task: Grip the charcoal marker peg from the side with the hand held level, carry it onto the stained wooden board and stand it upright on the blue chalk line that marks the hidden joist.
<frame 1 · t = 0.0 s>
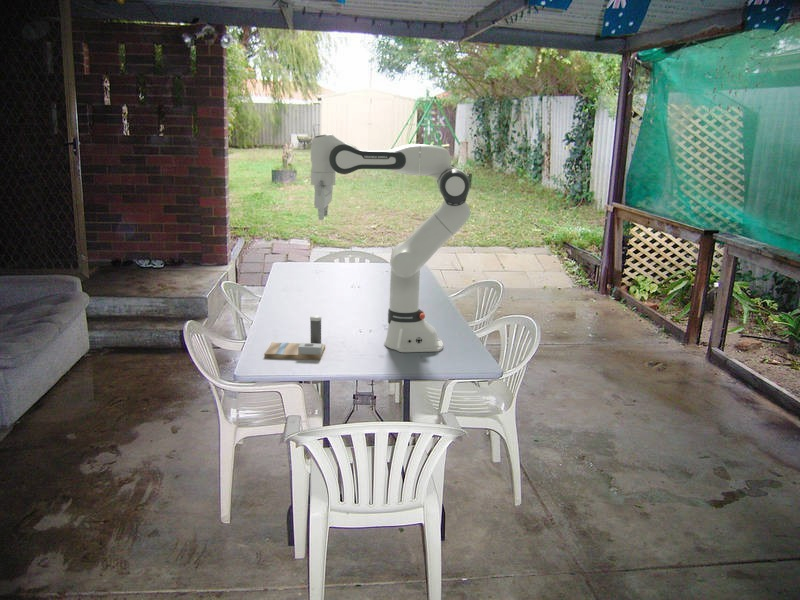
hand: (323, 218, 251), 48 cm above the table, tool pointing down, fingers open, 8 cm apart
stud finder: (310, 352, 246), resting on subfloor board
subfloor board: (295, 352, 250), on the table
marker peg: (315, 344, 259), on the table
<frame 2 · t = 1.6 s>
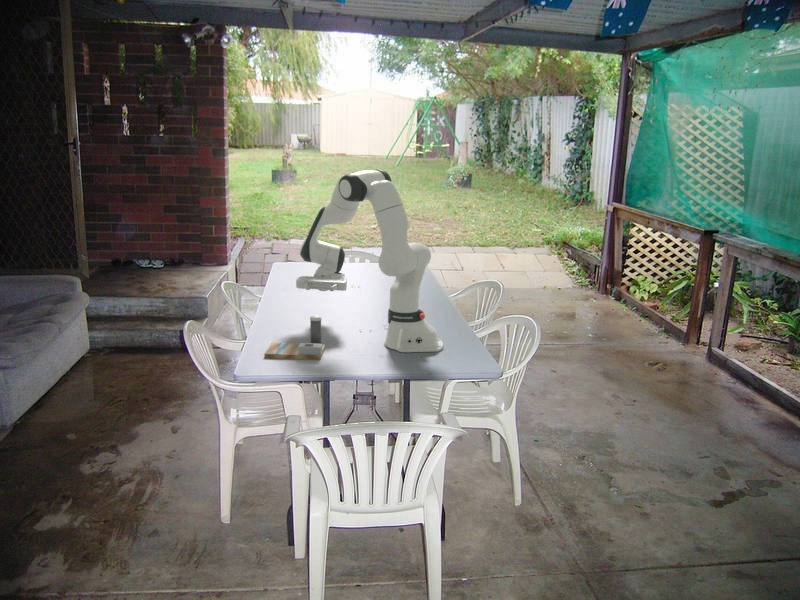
hand: (319, 288, 267), 19 cm above the table, tool horizontal, fingers open, 8 cm apart
nothing on the table moved.
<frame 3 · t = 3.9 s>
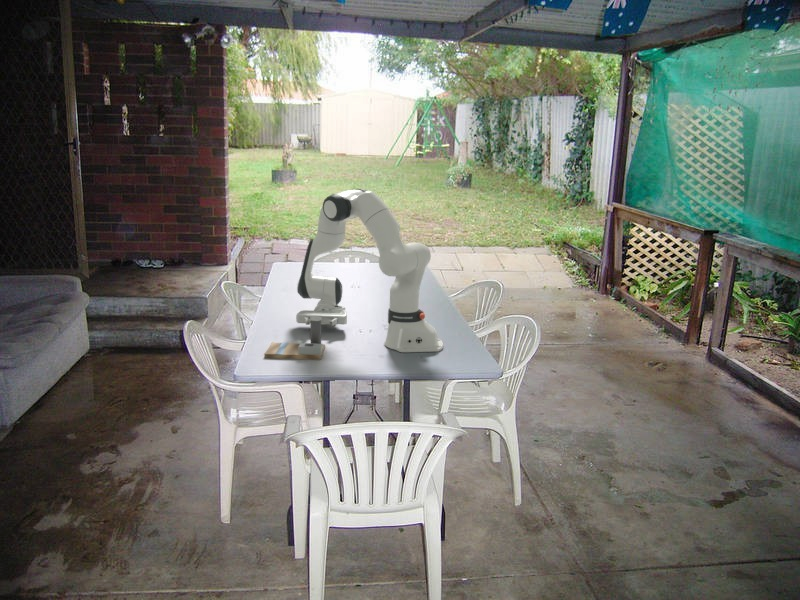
hand: (319, 323, 266), 6 cm above the table, tool horizontal, fingers open, 8 cm apart
nothing on the table moved.
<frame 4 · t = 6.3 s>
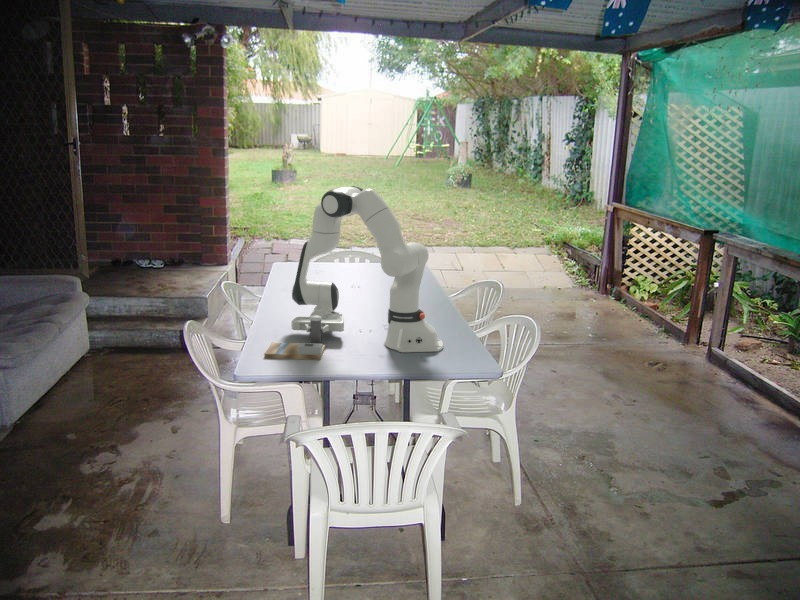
hand: (315, 330, 257), 6 cm above the table, tool horizontal, fingers closed on marker peg, 4 cm apart
marker peg: (315, 344, 259), on the table, touching gripper
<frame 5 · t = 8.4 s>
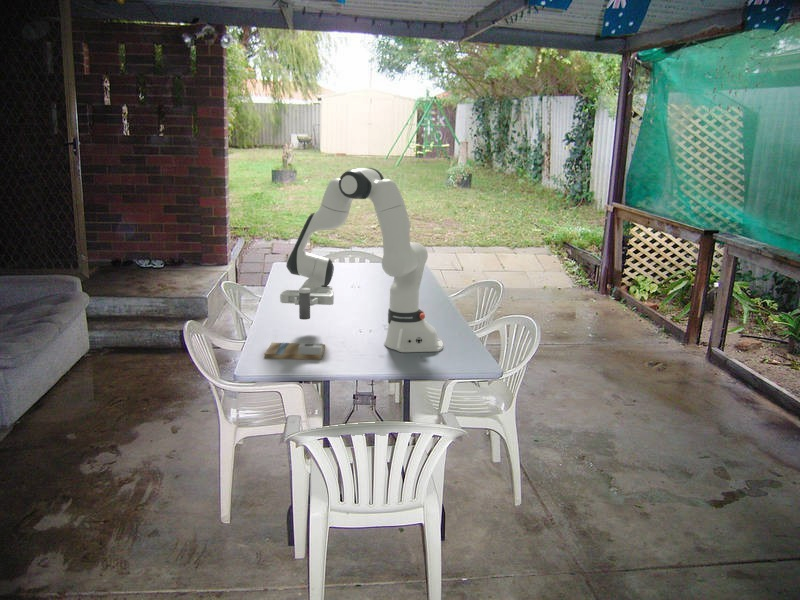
hand: (304, 303, 252), 17 cm above the table, tool horizontal, fingers closed on marker peg, 4 cm apart
marker peg: (304, 317, 254), point 11 cm above the table, touching gripper
when the fingers open (9 cm above the table, at t = 10.8 s): marker peg drops 1 cm, resting on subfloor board.
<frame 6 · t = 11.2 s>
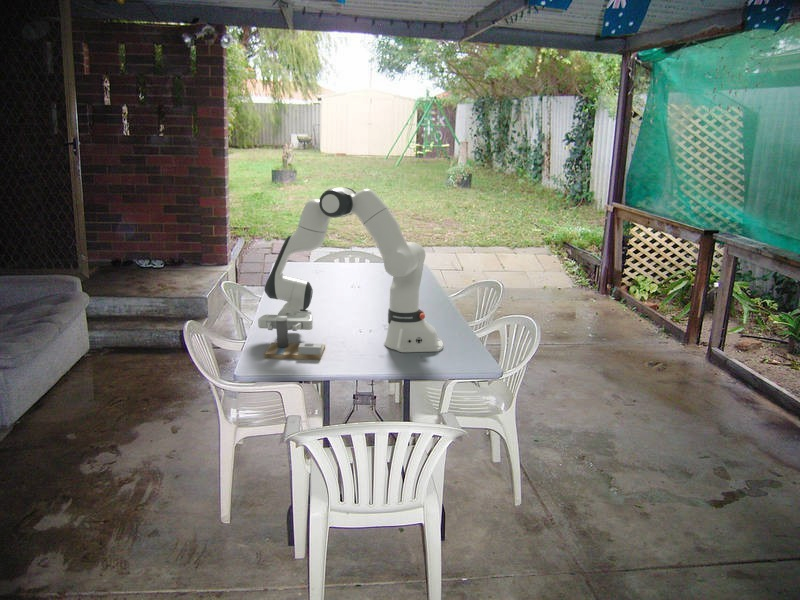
hand: (282, 328, 249), 9 cm above the table, tool horizontal, fingers open, 8 cm apart
marker peg: (283, 346, 251), point 2 cm above the table, touching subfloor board
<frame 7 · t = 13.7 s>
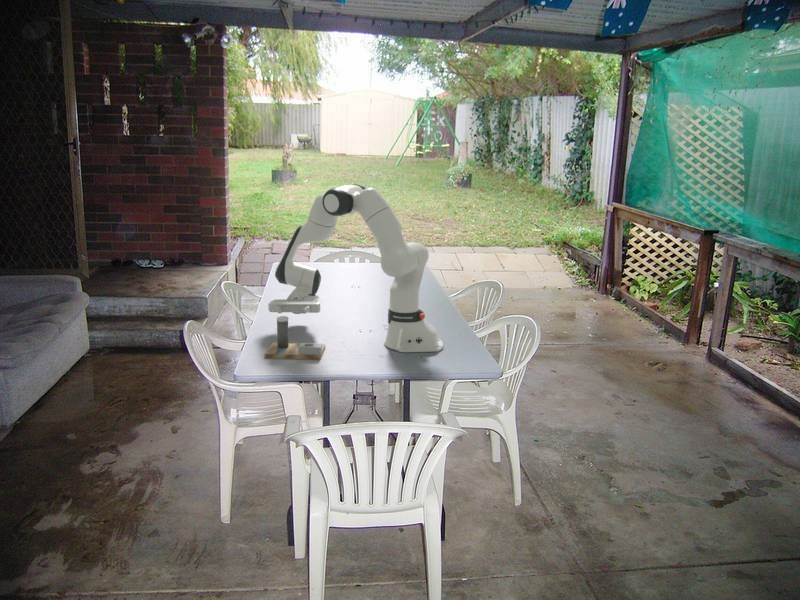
hand: (291, 311, 261), 12 cm above the table, tool horizontal, fingers open, 8 cm apart
nothing on the table moved.
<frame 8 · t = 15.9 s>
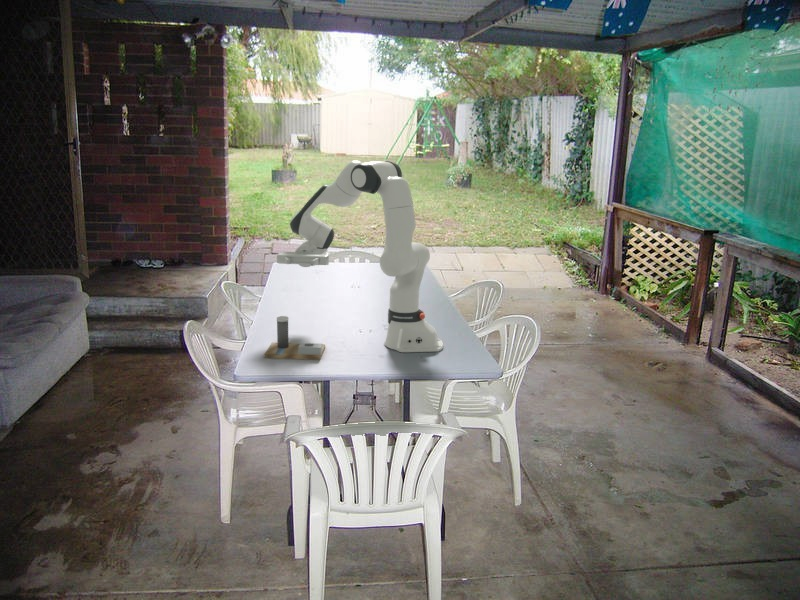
hand: (300, 262, 260), 30 cm above the table, tool horizontal, fingers open, 8 cm apart
nothing on the table moved.
at the end: marker peg inside the target area on the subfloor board (1.0 cm from its centre), point 1.6 cm above the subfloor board's base; marker peg tilted 0°; the gripper is holding nothing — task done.
